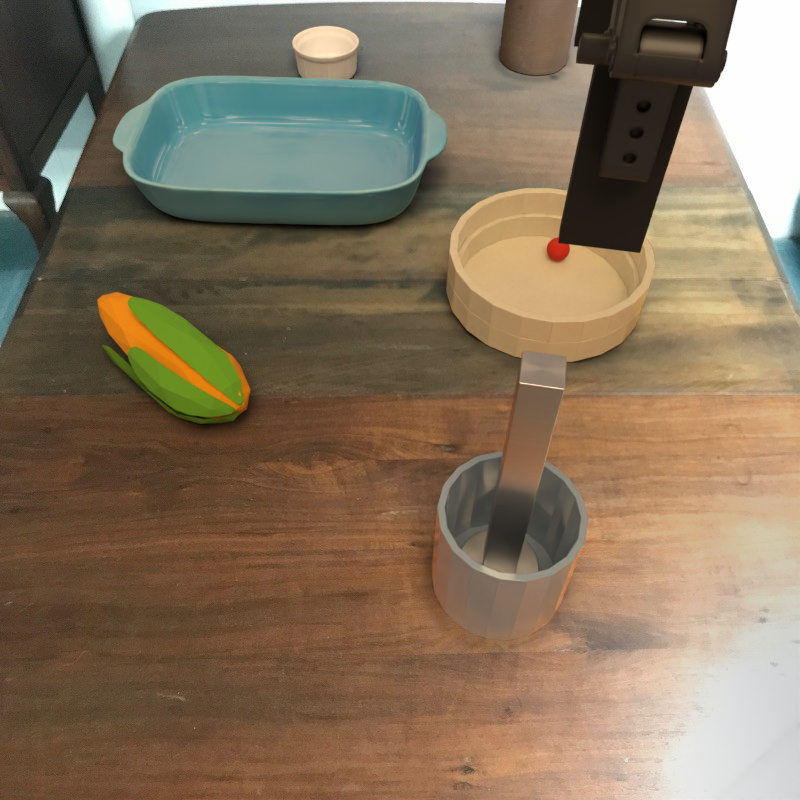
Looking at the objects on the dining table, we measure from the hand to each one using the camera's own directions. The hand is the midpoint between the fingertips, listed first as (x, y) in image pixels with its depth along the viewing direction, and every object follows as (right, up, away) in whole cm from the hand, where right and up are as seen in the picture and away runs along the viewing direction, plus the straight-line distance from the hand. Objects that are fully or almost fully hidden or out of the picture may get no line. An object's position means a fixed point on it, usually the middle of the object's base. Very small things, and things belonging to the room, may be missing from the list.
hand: (602, 130), depth 31 cm
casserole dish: (-21, +15, +62) cm, 67 cm away
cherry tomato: (+9, +5, +52) cm, 53 cm away
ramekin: (-18, +34, +78) cm, 87 cm away
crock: (0, -24, +30) cm, 39 cm away
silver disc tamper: (-1, -24, +30) cm, 38 cm away
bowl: (+7, 0, +50) cm, 51 cm away
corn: (-29, -9, +43) cm, 52 cm away
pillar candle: (+11, +37, +81) cm, 90 cm away
